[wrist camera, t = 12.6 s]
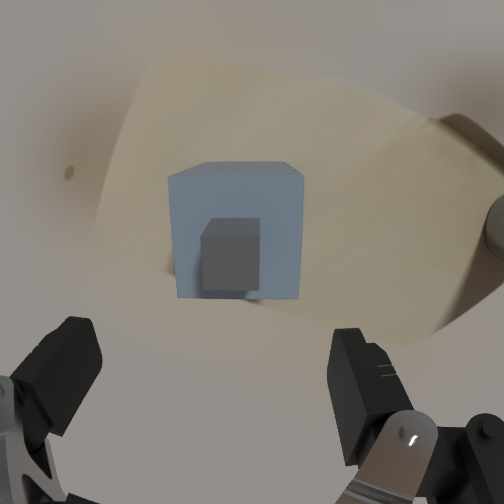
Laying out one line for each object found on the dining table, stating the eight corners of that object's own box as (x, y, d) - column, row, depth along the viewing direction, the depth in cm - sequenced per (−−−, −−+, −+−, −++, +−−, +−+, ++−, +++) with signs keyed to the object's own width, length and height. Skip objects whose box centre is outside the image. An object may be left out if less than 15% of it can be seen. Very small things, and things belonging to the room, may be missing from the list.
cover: (284, 161, 32) (315, 183, 15) (283, 237, 35) (305, 331, 17) (205, 162, 32) (146, 185, 15) (208, 237, 35) (162, 329, 18)
